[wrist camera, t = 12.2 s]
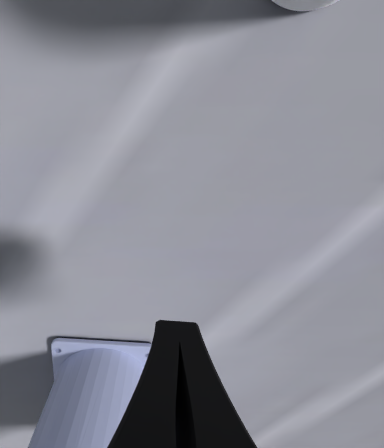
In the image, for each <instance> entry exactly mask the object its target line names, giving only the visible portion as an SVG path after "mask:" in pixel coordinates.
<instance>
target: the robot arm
mask: <svg viewBox="0 0 384 448" xmlns="http://www.w3.org/2000/svg"><path fill="white" fill-rule="evenodd" d="M51 351H52V363H53V374H54V383H53V386H52V388H51V391H50V393H49V396H48V398H47V401H46V403H45V406H44V408H43V411H42V413H41V416H40V418H39V421H38V423H37V426H36V428H35V431H34V433H33V436H32V438H31V441H30V443H29V446H28V448H257V447H256V445H255V443H254V442H253V440H252V438H251V437H250V435H249V433H248V431H247V430H246V428H245V426H244V424H243V423H242V421H241V419H240V417H239V415H238V414H237V412H236V410H235V408H234V406H233V404H232V402H231V400H230V398H229V397H228V395H227V393H226V391H225V389H224V386H223V384H222V382H221V380H220V378H219V376H218V374H217V372H216V370H215V367H214V365H213V363H212V361H211V358H210V356H209V353H208V351H207V349H206V346H205V344H204V341H203V338H202V335H201V333H200V330H199V326H198V325H197V324H196V323H194V322H180V321H166V320H159V321H157V322H156V325H155V332H154V338H153V342H152V344H150V343H135V342H118V341H101V340H85V339H68V338H56V339H54V340H53V341H52V343H51ZM147 353H149V354H147Z"/></svg>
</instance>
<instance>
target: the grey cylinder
mask: <svg viewBox="0 0 384 448" xmlns="http://www.w3.org/2000/svg"><path fill="white" fill-rule="evenodd" d="M272 1H273V2H274V3H276V4H277V5H279V6H281V7H283V8H286V9H289V10H294V11H312V10H317V9H320V8H323V7H326V6H328V5H331V4H333V3H335V2H337V1H339V0H272Z"/></svg>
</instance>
